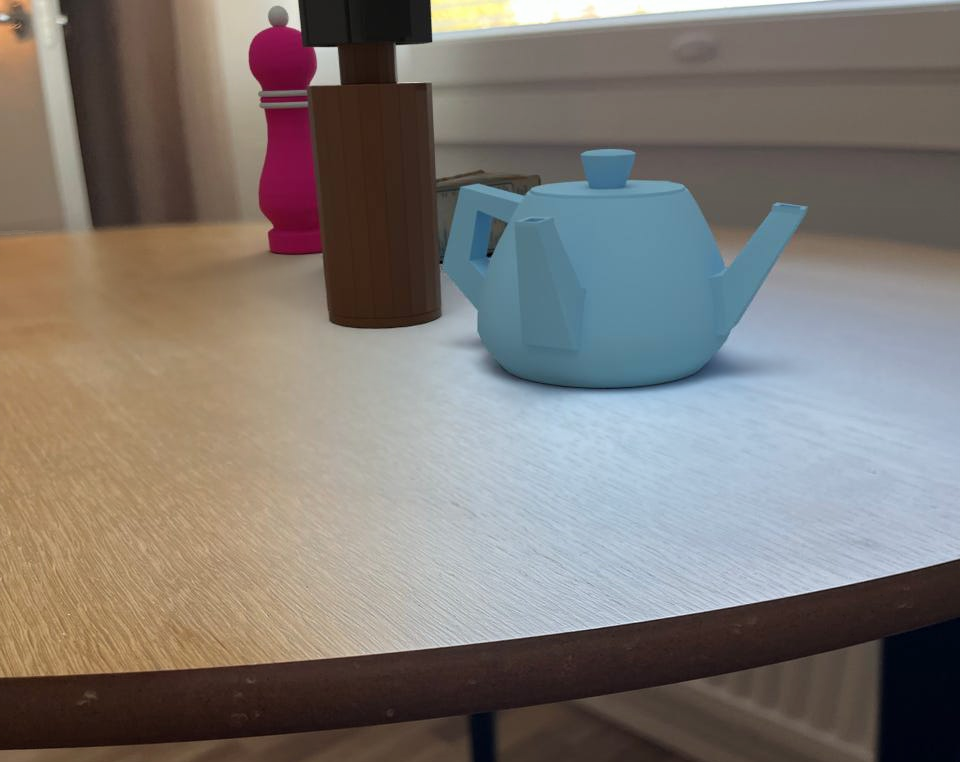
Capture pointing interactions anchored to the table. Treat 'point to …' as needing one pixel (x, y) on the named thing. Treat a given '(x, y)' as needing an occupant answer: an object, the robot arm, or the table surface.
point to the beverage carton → (451, 185)
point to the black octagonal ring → (355, 23)
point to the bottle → (376, 191)
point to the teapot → (605, 276)
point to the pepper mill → (286, 136)
